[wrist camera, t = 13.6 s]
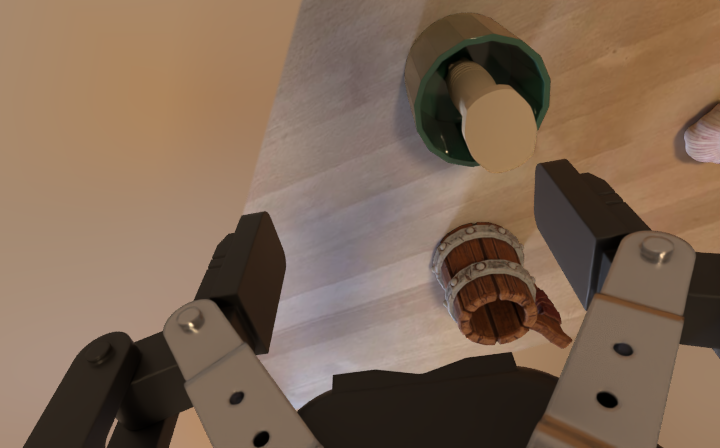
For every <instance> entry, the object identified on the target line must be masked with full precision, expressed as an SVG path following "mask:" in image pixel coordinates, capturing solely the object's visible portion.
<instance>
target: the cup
mask: <svg viewBox="0 0 720 448" xmlns="http://www.w3.org/2000/svg"><path fill="white" fill-rule="evenodd" d="M461 57H466V58H467V59H468V60H469V61H473V62H475V63H477V64H479V65H480V66H481V67H483V68H484V69H485V70H486V71H487V72H488V73H489V74H490V75H491V77H492V78H493V80H494V81H495V83H496V85H498V84H503V85H509V86H511V87H512V88H513V89H514V90H515V91H516V92H517V93H518V94H519V95H520V96H521V97H522V98H524V99H525V101H526V102H527V103H528V104H529V105H530V107H531V109H532V111H533V114H534V118H535V122H536V125H537V131H538V129H539V127H540V125H541V123H542V121H543V119H544V117H545V114H546V112H547V110H548V108H549V101H550V83H551V80H550V77H549V75H548V72H547V70H546V67H545V65H544V62H543V60H542V58H541V56H540V55H539V54H538V53H537V52H535V51H534V50H533V49H532V48H531V47H529V46H528V45H527V44H526V43H525V42H523V41H522V40H521V39H519V38H518V37H517V36H515V35H514V34H512V33H511V32H510V31H508V30H507V29H506V28H504V27H503V26H501V25H500V24H499V23H497V22H496V21H494V20H493V19H492V18H489V17H486V16H483V15H480V14H476V13H457V14H453V15H449V16H446V17H444V18H442V19H439V20H438V21H436V22H434V23H433V24H432V25H430V26H429V27H428V28H426V29H425V30H424V31H423V32H422V33H421V35H420V36H419V37H418V38H417V40H416V41H415V43H414V44H413V46H412V48H411V50H410V52H409V54H408V58H407V61H406V66H405V73H404V77H405V85H406V91H407V97H408V100H409V104H410V108H411V111H412V115H413V118H414V122H415V126H416V129H417V132H418V133H419V135H420V137H421V138H422V140H423V141H424V143H425V145H426V146H427V148H428V149H429V150H430V151H431V152H433V153H434V154H436V155H437V156H439V157H440V158H442V159H443V160H445V161H446V162H448V163H453V164H458V165H463V166H469V167H474V166H480V164H479V163H477V162H476V160H475V159H474V158H473V157H472V155H471V153H470V151H469V149H468V147H467V144H466V142H465V139H464V136H463V133H462V118H463V117H462V115H461V114H460V113H459V111H458V110H457V108H456V107H455V106H454V104H453V102H452V100H451V98H450V95H449V92H448V89H447V85H446V82H445V78H446V77H447V74H448V65H449V64H450V63H451V62H456V61H458V60H459V59H460V58H461Z"/></svg>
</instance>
